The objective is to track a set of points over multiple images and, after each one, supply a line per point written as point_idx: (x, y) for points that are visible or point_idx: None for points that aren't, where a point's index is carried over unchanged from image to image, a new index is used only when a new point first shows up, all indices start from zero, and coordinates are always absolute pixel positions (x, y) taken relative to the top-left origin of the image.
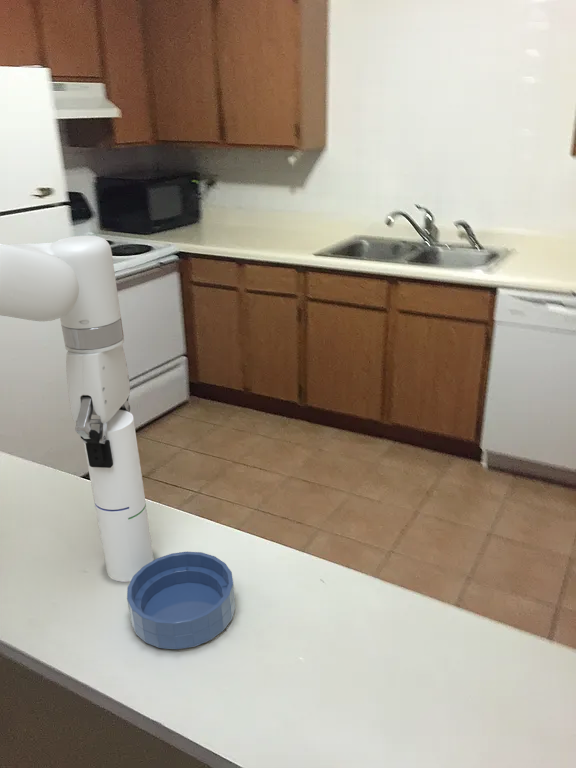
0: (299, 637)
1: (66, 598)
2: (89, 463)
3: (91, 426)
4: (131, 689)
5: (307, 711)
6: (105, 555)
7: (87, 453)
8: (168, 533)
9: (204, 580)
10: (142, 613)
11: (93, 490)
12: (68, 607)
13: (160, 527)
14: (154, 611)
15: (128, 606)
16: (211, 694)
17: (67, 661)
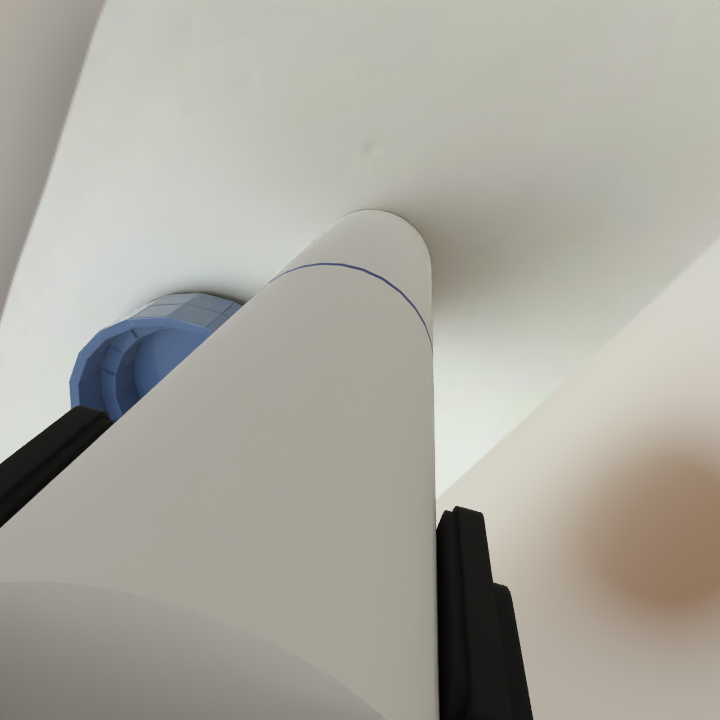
0: None
1: (262, 114)
2: (65, 415)
3: (9, 672)
4: (33, 303)
5: None
6: (324, 232)
7: (3, 462)
8: (492, 355)
9: None
10: (87, 354)
11: (250, 301)
12: (229, 128)
13: (526, 335)
14: (204, 338)
15: (139, 311)
16: (48, 421)
17: (71, 166)
